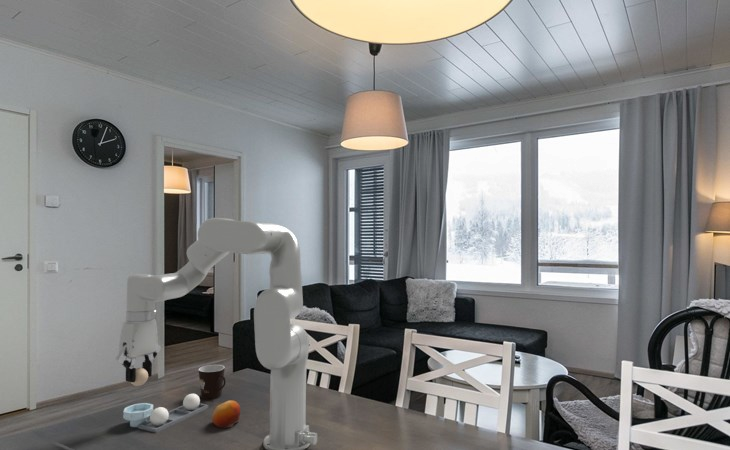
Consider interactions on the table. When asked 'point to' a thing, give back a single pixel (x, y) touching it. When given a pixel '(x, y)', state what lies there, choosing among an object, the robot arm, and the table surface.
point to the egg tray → (172, 418)
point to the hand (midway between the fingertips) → (138, 378)
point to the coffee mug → (211, 381)
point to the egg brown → (140, 377)
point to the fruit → (226, 414)
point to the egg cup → (137, 413)
